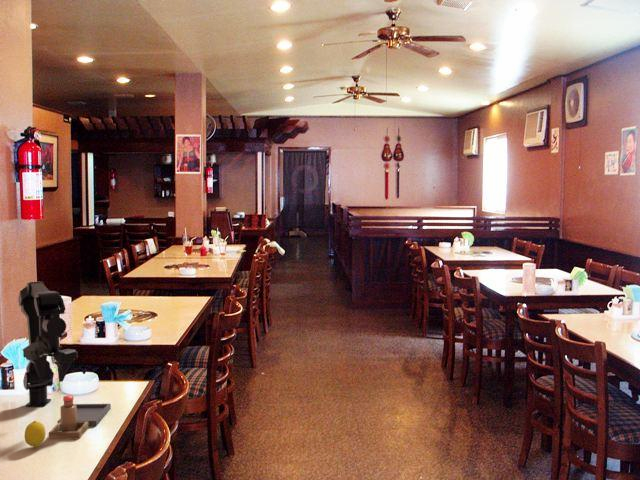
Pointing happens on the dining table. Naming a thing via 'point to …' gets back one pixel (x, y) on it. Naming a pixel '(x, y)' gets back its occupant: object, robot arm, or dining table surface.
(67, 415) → the bottle
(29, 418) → the dining table surface
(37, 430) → the lemon
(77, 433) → the stand
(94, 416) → the tray
